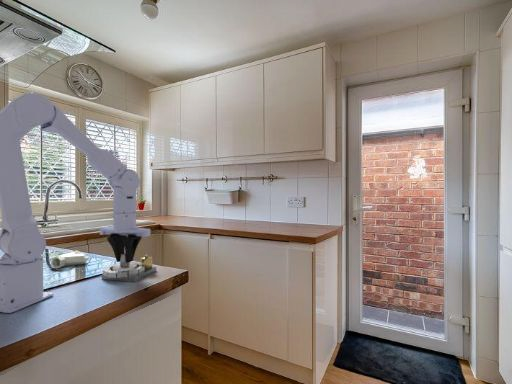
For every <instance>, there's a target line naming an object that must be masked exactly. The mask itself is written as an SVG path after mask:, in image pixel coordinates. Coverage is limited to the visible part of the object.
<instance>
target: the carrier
mask: <svg viewBox="0 0 512 384" xmlns="http://www.w3.org/2000/svg"><path fill="white" fill-rule="evenodd" d="M130 263H134V264H136V265H137V268H136V269H133V270H128V271H113V266H115V265H118V264H120V262H117V263H113V264H110V265H107V266H105V267H104V268H103V269H102V274H101V280H106V281H115V282H116V281H117V282H118V281H119V282H129V283H136V282H138V281H140V280H142V279H143V278H146V277H148V276H149V275H152V274H153V273H155V272H157V266H153V257H152V256H149V254H144V255H143V256H142V257H140V259H139V261H131V262H130Z"/></svg>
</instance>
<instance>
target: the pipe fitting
mask: <svg viewBox="0 0 512 384" xmlns="http://www.w3.org/2000/svg"><path fill="white" fill-rule="evenodd" d="M87 261H89V256H88V257H87V255H85V254H84V253H82V252H80V250H78V249H76V250H74V251H72V252H69V253H65V254H60V255H57V256H54V257H52V258H51V263H50V264H51V267H53V268H54V269H60V268H63V267H66V266H67V267H68V266H78V265H79V266H80V265H84V264H85V263H87Z"/></svg>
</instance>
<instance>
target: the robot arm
mask: <svg viewBox="0 0 512 384" xmlns="http://www.w3.org/2000/svg"><path fill="white" fill-rule="evenodd" d="M40 126H41V127H40ZM38 127H40V128H39V129H40V130H39V131H40V132H41V131H42V132H46V133H53V134H57V135H59V136H60V137H62V138H63V139H64V140H65V141H67V142H68V143H69V144H71V145H72V146H73V147H75V148H76V149H77V150H79V151H80V153H82V154H83V155H84V156H86V157H87V163H88V165H89V166H91V168H93V169H94V170H96V171H97V172H98V173H99V174H100V175H101V176H103V177H104V178H105V179H106V180H108V183H109V185H110V187H112V189H113V197H112V198H113V203H112V205H113V208H112V209H113V212H112V213H113V215H112V216H113V217H112V221H113V223H112V224H113V225H112V226H103V227H99V235H100V236H101V235H102V236H103V235H109V236H108V237H107V238H106V240H107V242H108V243H109V245H110V247H111V248H112V251H113V253H114V257H115V261H116V262H117V263H120V253H125V257H126V263H129V262H134V258H135V254H136V251H137V248H138V245H139V244H140V242H141V240H142V238H148V237H150V236H151V228H144V227H137V189H138V187H140V185H141V182H142V181H141V178H140V177H139V175H138V172H136V171H135V170H133V169H130V168H128V165H127V164H126V163H125V162H124V163H123V162H122V161H121V160H119V158H117V156H115V155H114V154H115V152H114V151H113V150H112V149H107V148H105V147H98V145H96V143H94V142H93V141H92V140H91V139H90V138H89V137H88V136H87V135H86V134H85V133H84V132H83V131H82V130H81V129H80V128H78V126H76V125H75V124H74V122H72V121H71V120H70V119H69V117H67V115H66V114H65V112H64V111H62V109H61V108H60V107H59V106H57V105H55V104H53V103H52V102H51V100H50V99H49V98H48V97H46V96H45V95H43V94H40V93H36V92H26V93H23V94H22V95H20V96H18V97H16V98H15V99H13V100H11V101H10V102H9V103H8V104H7V105H5V106H4V107H2V108H1V109H0V214H1V221H0V227H1V228H0V229H1V232H0V251H1V252H2V253H3V255H2V256H1V257H0V313H5V314H6V313H7V314H11V313H14V312H17V311H19V310H22V309H24V308H27V307H28V306H30V305H33V304H35V303H38V302H41V301H43V300H46V299H48V298H49V297H53V296H54V295H55V293H54V292H47V291H44V254H43V253H44V252H45V250H46V247H47V241H46V238H45V236H44V235H43V234H42V233H41V232H40V230H39V227H38V222H37V221H36V218H35V216H34V214H33V211H32V205H31V197H30V193H29V192H30V191H29V187H28V182H27V175H26V168H25V164H24V159H23V152H22V146H21V139H22V138H24V137H25V136H27V134H29V133H30V132H31V131H32V129H34V128H38Z"/></svg>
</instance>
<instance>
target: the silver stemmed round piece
mask: <svg viewBox="0 0 512 384" xmlns="http://www.w3.org/2000/svg"><path fill="white" fill-rule="evenodd" d="M119 263H120V264H118V265H115V266H113V271H128V270H133V269H136V268H137V265H136V264H134V263H130V262H129V263H126V257H125V252H124V253H120V262H119Z"/></svg>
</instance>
